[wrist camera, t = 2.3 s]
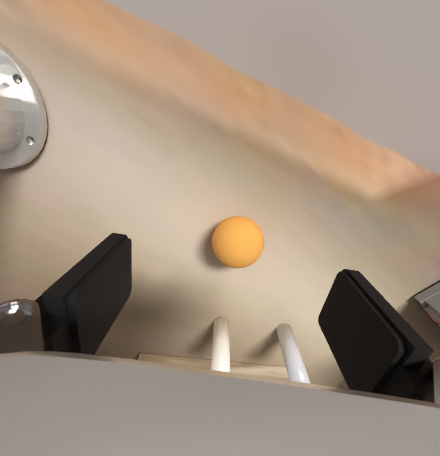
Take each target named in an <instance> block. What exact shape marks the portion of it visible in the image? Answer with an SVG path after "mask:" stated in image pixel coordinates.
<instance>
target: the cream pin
mask: <svg viewBox="0 0 440 456" xmlns="http://www.w3.org/2000/svg"><path fill="white" fill-rule="evenodd" d="M211 370H216V371H223V372H230V345H229V321H228V320H227V319H226V318H223V317H220V318H217V319H215V321H214V328H213V345H212V363H211Z"/></svg>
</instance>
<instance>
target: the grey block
mask: <svg viewBox="0 0 440 456" xmlns="http://www.w3.org/2000/svg"><path fill="white" fill-rule="evenodd" d="M414 298H415V299H416V300H417V301H418V302H419V304H420V305H421V306H422V307H423V308H424V310H425V311H426V312H427V314H428V315H429V316H430V317H431V318H432V319H433V320H434V322H435V323H436V324H437V325H438V326H439V328H440V282H439V283H437V284H435V285H433V286H432V287H430V288H428V289H427V290H425V291H423V292H421V293H420V294H418V295H416V296H414Z"/></svg>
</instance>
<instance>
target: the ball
mask: <svg viewBox="0 0 440 456" xmlns="http://www.w3.org/2000/svg"><path fill="white" fill-rule="evenodd" d="M263 246H264V239H263V234H262V232H261V230H260V228H259V227H258V225H257V224H256V223H255V222H253V221H252V220H250V219H248V218H246V217H241V216H234V217H230V218H227V219H225V220H223V221H222V222H221V223H220V224H219V225H218V226H217V227H216V229H215V231H214V233H213V236H212V248H213V251H214V254H215V255H216V257H217V258H218V260H219V261H221V262H222V263H223V264H225V265H226V266H229V267H232V268H244V267H247V266H249V265H251V264H253V263H254V262H255V261H256V260H257V259H258V258H259V257H260V255H261V253H262V250H263Z"/></svg>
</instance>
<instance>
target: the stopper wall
mask: <svg viewBox="0 0 440 456" xmlns="http://www.w3.org/2000/svg"><path fill="white" fill-rule="evenodd" d="M137 360H141V361H149V362H156V363H164V364H171V365H179V366H186V367H194V368H201V369H209V370H211V363H212V360H207V359H197V358H186V357H176V356H166V355H155V354H145V353H140V354H139V357H138V359H137ZM230 373H238V374H245V375H252V376H259V377H266V378H273V379H280V380H288V381H289V377H288V373H287V370H286V367H280V366H270V365H259V364H249V363H238V362H230Z"/></svg>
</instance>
